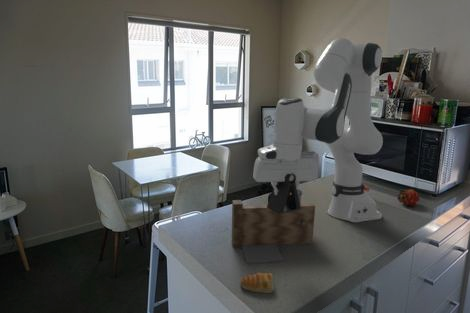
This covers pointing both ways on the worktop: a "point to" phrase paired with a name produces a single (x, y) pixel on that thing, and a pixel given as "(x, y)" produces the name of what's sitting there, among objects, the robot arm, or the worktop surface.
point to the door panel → (270, 225)
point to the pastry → (258, 283)
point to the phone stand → (285, 197)
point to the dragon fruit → (408, 197)
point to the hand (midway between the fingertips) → (284, 194)
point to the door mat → (262, 253)
